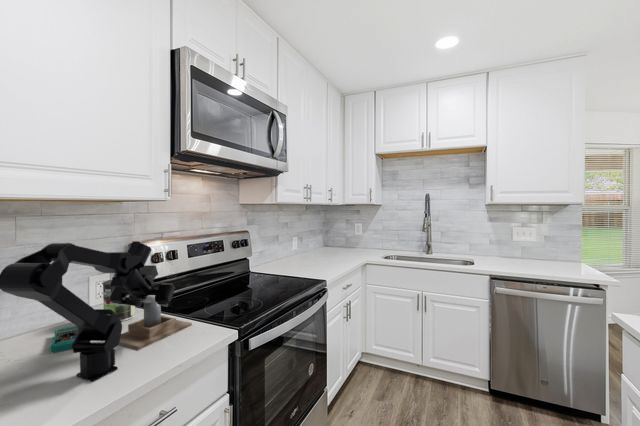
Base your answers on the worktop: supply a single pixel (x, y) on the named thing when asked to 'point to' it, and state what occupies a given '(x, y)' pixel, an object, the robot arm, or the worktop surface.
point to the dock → (150, 332)
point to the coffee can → (119, 309)
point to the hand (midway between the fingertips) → (154, 305)
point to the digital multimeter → (64, 339)
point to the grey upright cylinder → (151, 312)
